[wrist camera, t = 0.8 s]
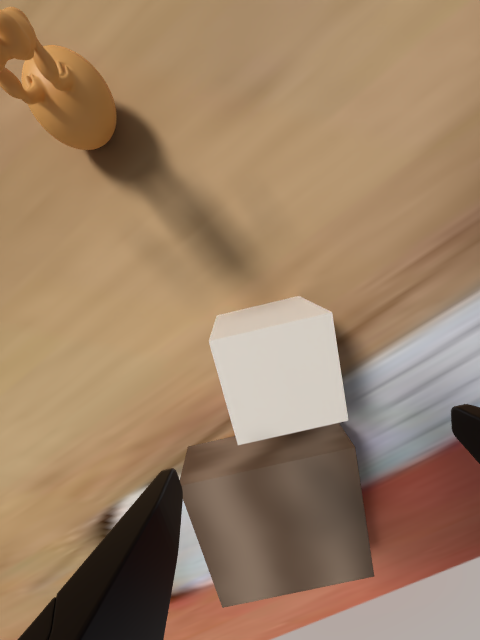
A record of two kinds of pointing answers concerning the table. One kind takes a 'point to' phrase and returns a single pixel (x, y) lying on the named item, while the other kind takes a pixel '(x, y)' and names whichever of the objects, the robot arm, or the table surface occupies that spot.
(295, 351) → the off-white cube
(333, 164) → the table surface
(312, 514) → the walnut slab
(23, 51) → the figurine
